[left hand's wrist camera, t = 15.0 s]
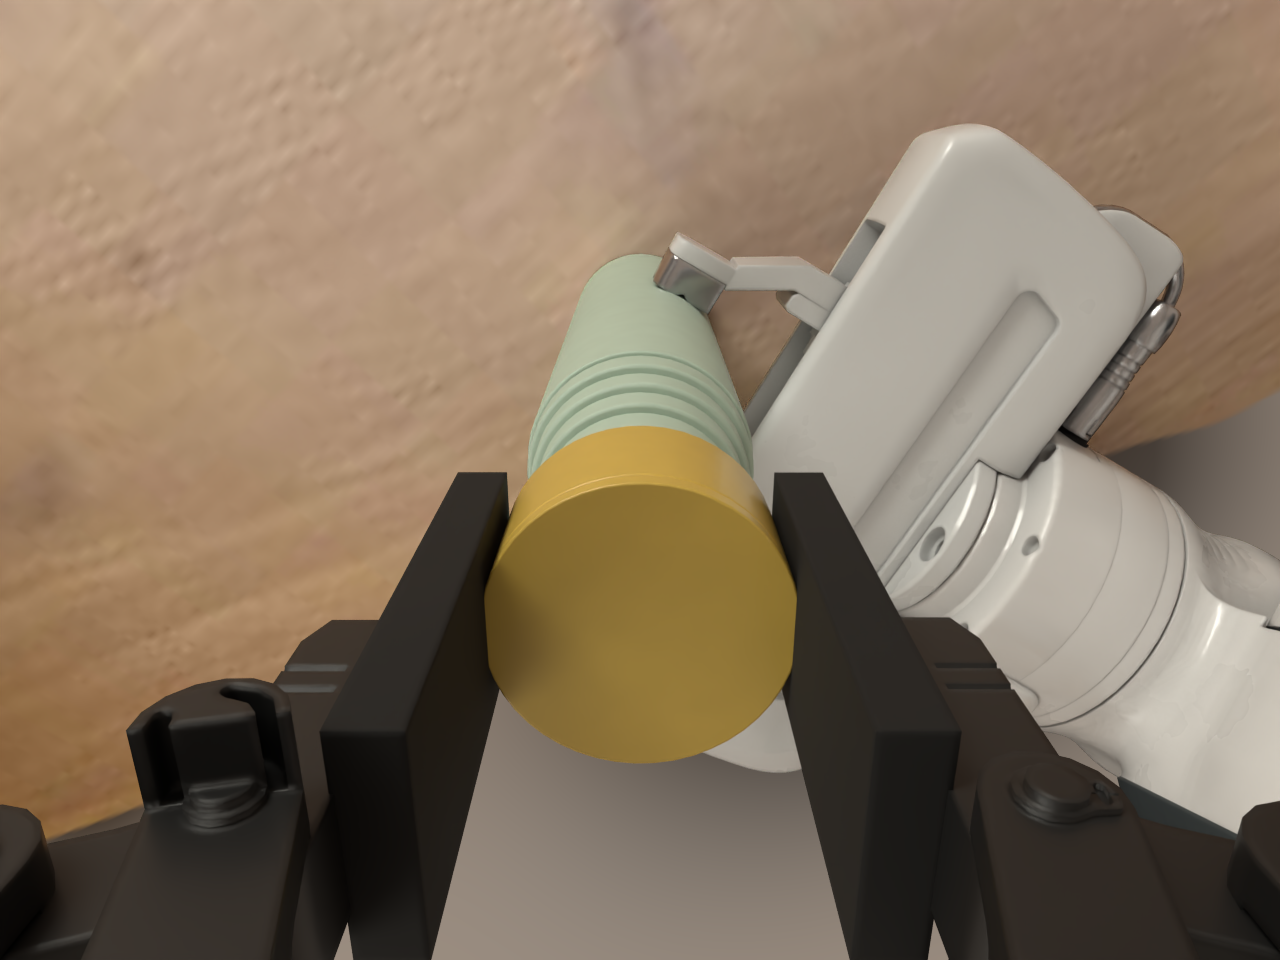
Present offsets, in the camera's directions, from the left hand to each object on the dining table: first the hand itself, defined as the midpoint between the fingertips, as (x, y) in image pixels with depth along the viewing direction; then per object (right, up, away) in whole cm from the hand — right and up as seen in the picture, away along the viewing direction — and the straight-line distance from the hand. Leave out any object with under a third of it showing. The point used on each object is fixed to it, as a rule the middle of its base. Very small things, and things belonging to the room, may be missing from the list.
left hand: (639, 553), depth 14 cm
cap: (0, -1, -2) cm, 2 cm away
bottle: (0, +7, +18) cm, 20 cm away
